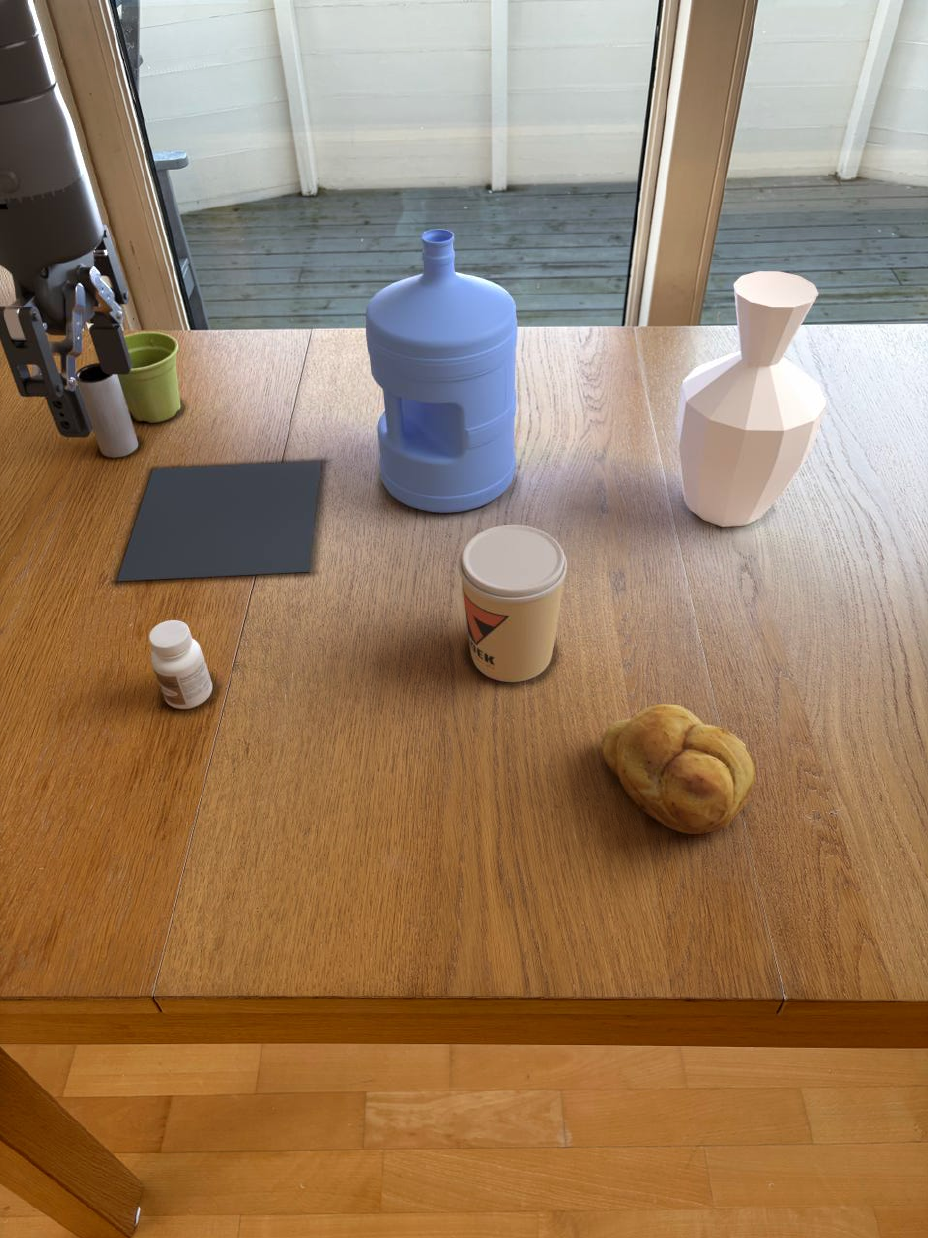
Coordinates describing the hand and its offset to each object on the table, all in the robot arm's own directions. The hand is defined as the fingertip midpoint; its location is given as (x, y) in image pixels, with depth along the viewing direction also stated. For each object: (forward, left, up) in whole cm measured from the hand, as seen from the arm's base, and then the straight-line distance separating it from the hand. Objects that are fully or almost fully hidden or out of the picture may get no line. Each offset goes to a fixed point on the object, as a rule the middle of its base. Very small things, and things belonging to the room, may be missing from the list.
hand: (98, 402), depth 69 cm
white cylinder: (-14, +38, -29) cm, 50 cm away
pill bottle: (+1, -3, -29) cm, 29 cm away
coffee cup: (+31, 0, -29) cm, 42 cm away
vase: (+57, +21, -29) cm, 67 cm away
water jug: (+26, +29, -29) cm, 48 cm away
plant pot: (-11, +46, -29) cm, 55 cm away
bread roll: (+43, -16, -29) cm, 54 cm away
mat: (+1, +23, -29) cm, 37 cm away
